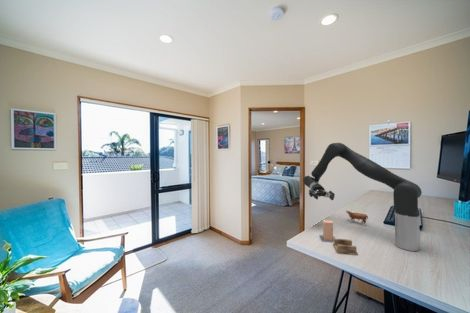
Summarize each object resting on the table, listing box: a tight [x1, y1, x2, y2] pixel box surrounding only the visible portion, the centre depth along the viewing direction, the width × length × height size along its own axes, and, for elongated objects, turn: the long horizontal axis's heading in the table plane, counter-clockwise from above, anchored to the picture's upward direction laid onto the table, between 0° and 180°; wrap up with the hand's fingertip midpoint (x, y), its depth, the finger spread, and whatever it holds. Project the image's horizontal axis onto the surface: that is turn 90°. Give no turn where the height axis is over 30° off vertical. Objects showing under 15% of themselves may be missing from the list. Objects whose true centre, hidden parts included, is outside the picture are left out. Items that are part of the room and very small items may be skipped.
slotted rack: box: [332, 238, 359, 256], centre depth 95 cm, size 9×8×4 cm
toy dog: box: [345, 208, 369, 226], centre depth 128 cm, size 4×13×8 cm, turn 37°
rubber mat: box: [319, 234, 336, 244], centre depth 106 cm, size 8×8×1 cm
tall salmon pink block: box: [322, 219, 334, 241], centre depth 106 cm, size 4×4×10 cm
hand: (325, 198), depth 111 cm, fingers open, 8 cm apart
